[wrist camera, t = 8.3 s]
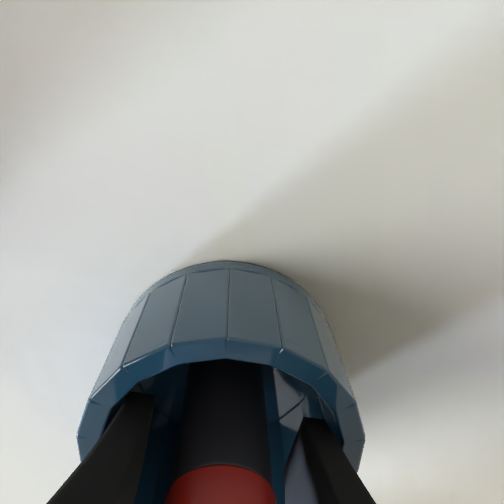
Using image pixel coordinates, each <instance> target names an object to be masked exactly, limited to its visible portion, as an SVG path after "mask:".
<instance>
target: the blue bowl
mask: <svg viewBox="0 0 504 504" xmlns="http://www.w3.org/2000/svg"><path fill="white" fill-rule="evenodd" d="M220 359H231V360H237V361H243V362H249V363H256V364H262V365H263V375H264V387H265V398H266V410H267V422H268V434H269V445H270V457H271V469H272V480H273V491H274V492H275V495H276V501H277V504H285V481H284V467H285V464H286V461H287V459H288V456H289V453H290V451H291V448H292V445H293V443H294V440H295V437H296V435H297V432H298V429H299V427H300V424H301V422H302V419H303V417H310V418H317V419H323V420H325V421H326V423H327V424H328V426H329V428H330V429H331V431H332V433H333V434H334V436H335V438H336V440H337V441H338V443H339V445H340V446H341V448H342V450H343V451H344V453H345V455H346V456H347V458H348V460H349V461H350V463H351V465H352V466H353V468H354V470H355V471H356V473H357V472H358V469H359V465H360V460H361V456H362V452H363V448H364V443H365V432H364V428H363V425H362V421H361V417H360V413H359V409H358V405H357V402H356V399H355V397H354V394H353V391H352V388H351V385H350V383H349V380H348V377H347V374H346V372H345V369H344V366H343V363H342V360H341V358H340V355H339V352H338V349H337V347H336V344H335V341H334V338H333V335H332V333H331V330H330V327H329V325H328V323H327V321H326V319H325V317H324V315H323V313H322V311H321V310H320V308H319V306H318V305H317V304H316V302H315V301H314V300H313V298H312V297H311V296H310V295H309V294H308V293H307V292H306V291H305V290H304V289H303V288H301V287H300V286H299V285H297V284H296V283H295V282H293V281H292V280H290V279H289V278H287V277H285V276H283V275H281V274H279V273H277V272H275V271H272V270H270V269H267V268H265V267H261V266H257V265H253V264H248V263H241V262H211V263H203V264H199V265H194V266H190V267H187V268H184V269H182V270H179V271H176V272H174V273H172V274H170V275H168V276H166V277H164V278H162V279H161V280H160V281H158V282H157V283H155V284H154V285H152V286H151V287H150V288H149V289H148V290H147V291H146V292H145V293H143V294H142V295H141V297H140V298H139V299H138V300H137V301H136V303H135V304H134V305H133V307H132V309H131V310H130V312H129V314H128V316H127V317H126V318H125V320H124V322H123V324H122V326H121V328H120V330H119V333H118V335H117V337H116V339H115V341H114V344H113V346H112V348H111V350H110V352H109V355H108V357H107V359H106V361H105V363H104V366H103V368H102V370H101V372H100V374H99V376H98V379H97V381H96V383H95V385H94V387H93V390H92V392H91V394H90V396H89V398H88V401H87V404H86V407H85V410H84V413H83V416H82V419H81V422H80V425H79V428H78V431H77V436H76V437H77V443H78V449H79V454H80V460H81V462H82V461H83V460H84V458H85V457H86V456H87V454H88V453H89V452H90V450H91V449H92V448H93V446H94V445H95V444H96V442H97V441H98V440H99V438H100V437H101V436H102V434H103V433H104V432H105V430H106V429H107V427H108V426H109V424H110V423H111V421H112V420H113V418H114V417H115V415H116V414H117V412H118V411H119V409H120V407H121V405H122V404H123V402H124V400H125V398H126V396H127V394H129V393H131V392H132V391H133V392H140V393H147V394H154V395H156V397H155V403H154V409H153V414H152V420H151V426H150V432H149V437H148V443H147V449H146V454H145V458H144V462H143V467H142V471H141V476H140V480H139V484H138V489H137V492H136V496H135V499H134V502H133V504H164V502H165V497H166V494H167V492H168V490H169V486H170V480H171V474H172V468H173V462H174V456H175V450H176V443H177V437H178V431H179V425H180V419H181V413H182V407H183V401H184V395H185V389H186V383H187V376H188V370H189V364H190V363H195V362H203V361H211V360H220Z"/></svg>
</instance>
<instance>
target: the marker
mask: <svg viewBox="0 0 504 504" xmlns="http://www.w3.org/2000/svg"><path fill="white" fill-rule="evenodd" d="M164 504H277V501H276V495H275V492H274V491H273V480H272V469H271V457H270V445H269V434H268V422H267V410H266V398H265V387H264V375H263V365H262V364H256V363H249V362H243V361H237V360H231V359H220V360H211V361H203V362H195V363H190V364H189V370H188V376H187V383H186V389H185V395H184V401H183V407H182V413H181V419H180V425H179V431H178V437H177V443H176V450H175V456H174V462H173V468H172V474H171V480H170V486H169V490H168V492H167V494H166V497H165V502H164Z"/></svg>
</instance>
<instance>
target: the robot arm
mask: <svg viewBox="0 0 504 504" xmlns="http://www.w3.org/2000/svg"><path fill="white" fill-rule="evenodd" d="M155 397H156V395H154V394H147V393H140V392H133V391H132V392H131V393H129V394H127V396H126V398H125V400H124V402H123V404H122V405H121V407H120V409H119V411H118V412H117V414H116V415H115V417H114V418H113V420H112V421H111V423H110V424H109V426H108V427H107V429H106V430H105V432H104V433H103V434H102V436H101V437H100V438H99V440H98V441H97V442H96V444H95V445H94V446H93V448H92V449H91V450H90V452H89V453H88V454H87V456H86V457H85V458H84V460H83V461H82V462H81V463H80V465H79V466H78V467H77V468H76V470H75V471H74V472H73V473H72V474H71V475H70V477H69V478H68V479H67V480H66V481H65V483H64V484H63V485H62V486H61V487H60V489H59V490H58V491H57V492H56V493H55V494H54V496H53V497H52V498H51V499H50V500H49V501H48V502H47V503H46V504H133V502H134V499H135V496H136V492H137V489H138V484H139V480H140V476H141V471H142V467H143V462H144V458H145V454H146V449H147V443H148V437H149V432H150V426H151V420H152V414H153V409H154V403H155ZM284 481H285V504H376V503H375V501H374V500H373V498H372V497H371V495H370V494H369V492H368V490H367V489H366V487H365V486H364V484H363V483H362V481H361V480H360V478H359V476H358V475H357V473H356V471H355V470H354V468H353V466H352V465H351V463H350V461H349V460H348V458H347V456H346V455H345V453H344V451H343V450H342V448H341V446H340V445H339V443H338V441H337V440H336V438H335V436H334V434H333V433H332V431H331V429H330V428H329V426H328V424H327V423H326V421H325V420H323V419H317V418H310V417H303V419H302V422H301V424H300V427H299V429H298V432H297V435H296V437H295V440H294V443H293V445H292V448H291V451H290V453H289V456H288V459H287V461H286V464H285V467H284Z"/></svg>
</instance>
